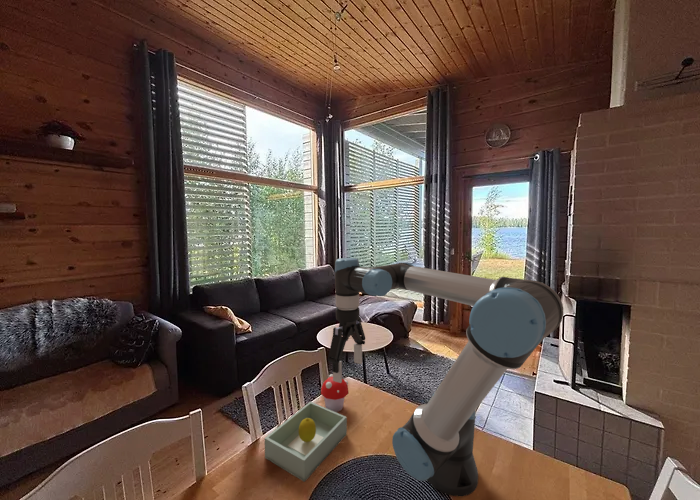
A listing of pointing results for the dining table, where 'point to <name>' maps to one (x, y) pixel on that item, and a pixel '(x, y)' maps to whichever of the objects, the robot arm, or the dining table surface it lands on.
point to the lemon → (307, 430)
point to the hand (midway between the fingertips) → (348, 371)
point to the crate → (302, 455)
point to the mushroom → (334, 393)
